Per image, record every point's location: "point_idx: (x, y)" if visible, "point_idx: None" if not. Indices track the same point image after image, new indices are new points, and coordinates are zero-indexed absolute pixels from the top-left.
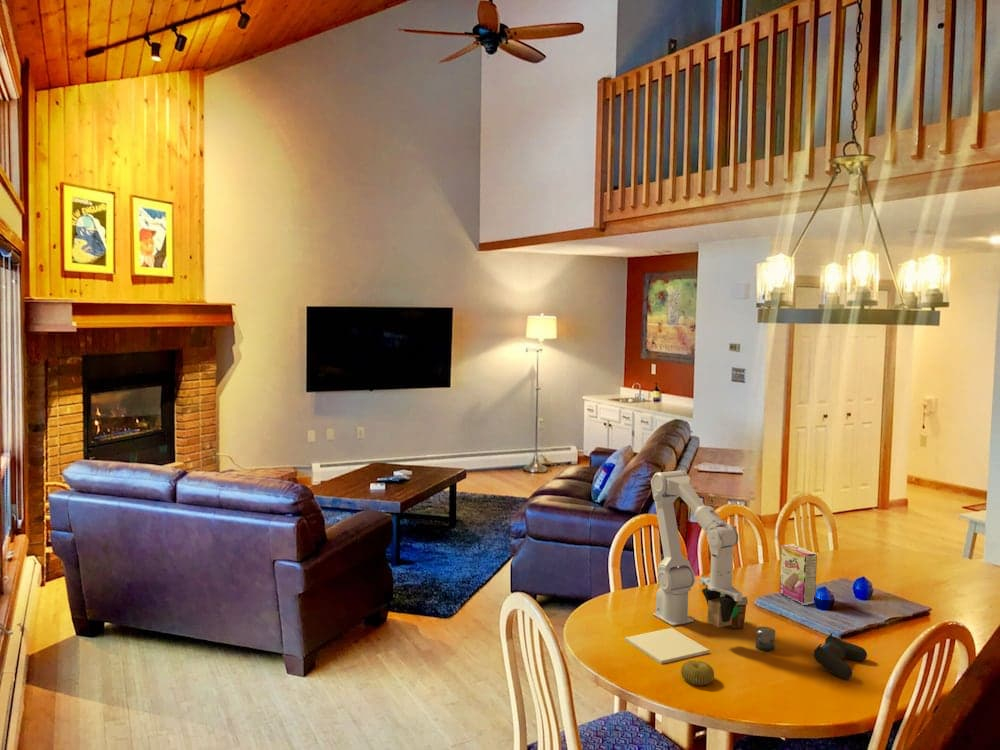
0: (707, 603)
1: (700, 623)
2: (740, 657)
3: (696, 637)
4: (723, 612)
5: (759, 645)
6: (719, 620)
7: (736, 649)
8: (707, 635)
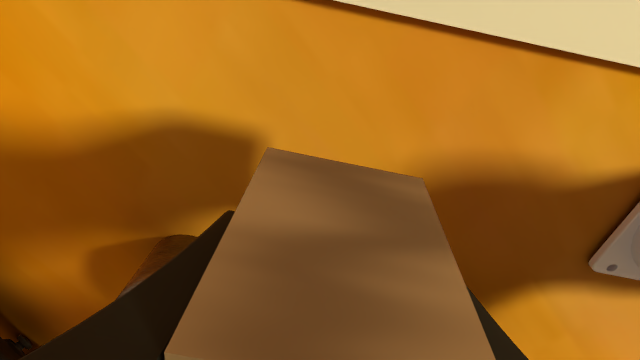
0: (519, 355)
1: (546, 270)
2: (153, 103)
3: (482, 122)
4: (157, 277)
5: (173, 250)
6: (247, 188)
7: (239, 167)
8: (445, 190)
